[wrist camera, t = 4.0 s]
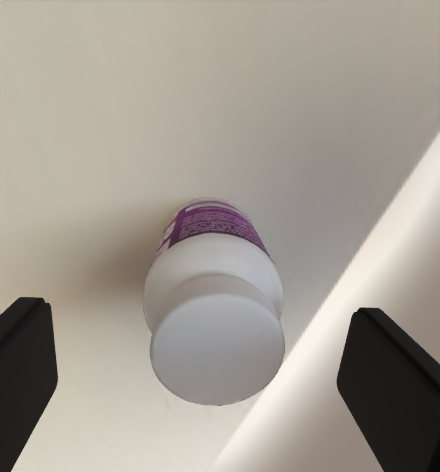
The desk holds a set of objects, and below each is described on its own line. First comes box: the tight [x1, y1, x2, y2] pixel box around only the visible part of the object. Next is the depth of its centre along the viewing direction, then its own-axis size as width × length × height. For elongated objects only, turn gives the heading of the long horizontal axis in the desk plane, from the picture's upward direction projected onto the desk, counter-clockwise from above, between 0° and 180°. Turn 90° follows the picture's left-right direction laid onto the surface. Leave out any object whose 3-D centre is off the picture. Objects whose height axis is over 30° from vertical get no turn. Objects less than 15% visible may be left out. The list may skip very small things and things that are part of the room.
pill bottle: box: [143, 198, 285, 406], centre depth 13 cm, size 5×5×10 cm
